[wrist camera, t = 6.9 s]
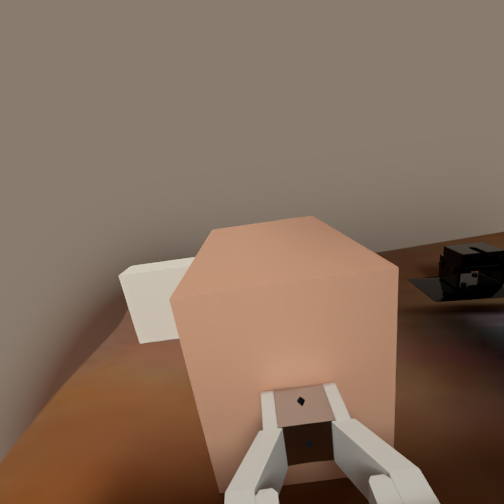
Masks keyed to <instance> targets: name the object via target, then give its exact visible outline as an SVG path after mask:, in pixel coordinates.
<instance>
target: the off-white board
mask: <svg viewBox="0 0 504 504" xmlns="http://www.w3.org/2000/svg"><path fill="white" fill-rule="evenodd" d="M194 258H195V257H192V258H184V259H177V260H170V261H163V262H156V263H149V264H142V265H135V266H130V267H129V268H128V269H126V270H125V271H124V272H123V273H121V274H120V275H119V279H120V282H121V285H122V288H123V291H124V295H125V298H126V301H127V304H128V308H129V311H130V314H131V317H132V321H133V324H134V327H135V330H136V333H137V337H138V340H139V343H140V344H141V343H149V342H156V341H164V340H171V339H179V335H178V331H177V328H176V324H175V320H174V316H173V312H172V308H171V304H170V300H169V299H170V297H171V295H172V294H173V292H174V290H175V289H176V287H177V286H178V284H179V282H180V281H181V279H182V278H183V276H184V274H185V273H186V271H187V270H188V268H189V266H190V265H191V263H192V262H193V260H194Z"/></svg>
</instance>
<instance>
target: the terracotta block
mask: <svg viewBox="0 0 504 504" xmlns="http://www.w3.org/2000/svg"><path fill="white" fill-rule="evenodd" d="M398 271H399V267H397V266H396V265H394V264H392V263H391V262H389V261H387V260H386V259H384V258H382V257H381V256H379V255H377V254H376V253H374V252H372V251H371V250H369V249H367V248H366V247H364V246H362V245H360V244H359V243H357V242H355V241H354V240H352V239H350V238H349V237H347V236H345V235H344V234H342V233H340V232H339V231H337V230H335V229H334V228H332V227H330V226H329V225H327V224H325V223H324V222H322V221H320V220H318V219H317V218H315V217H313V216H305V217H299V218H291V219H284V220H277V221H270V222H263V223H256V224H249V225H243V226H236V227H228V228H221V229H214V230H212V231H211V233H210V234H209V236H208V238H207V239H206V241H205V242H204V244H203V246H202V247H201V249H200V250H199V252H198V254H197V255H196V257H195V258H194V260H193V262H192V263H191V265H190V266H189V268H188V270H187V271H186V273H185V274H184V276H183V278H182V279H181V281H180V282H179V284H178V286H177V287H176V289H175V290H174V292H173V294H172V295H171V297H170V299H169V300H170V304H171V308H172V312H173V316H174V320H175V324H176V328H177V331H178V335H179V339H180V343H181V347H182V351H183V355H184V358H185V362H186V366H187V370H188V374H189V378H190V382H191V385H192V389H193V393H194V397H195V401H196V405H197V409H198V412H199V416H200V420H201V424H202V428H203V432H204V436H205V439H206V443H207V447H208V451H209V455H210V459H211V463H212V467H213V470H214V474H215V478H216V482H217V486H218V490H219V494H220V493H225V492H226V490H227V488H228V486H229V485H230V483H231V481H232V479H233V477H234V475H235V474H236V472H237V470H238V468H239V466H240V465H241V463H242V461H243V459H244V457H245V455H246V454H247V452H248V450H249V448H250V446H251V445H252V443H253V441H254V439H255V437H256V436H257V434H258V432H259V431H262V430H263V425H262V410H261V392H265V391H273V390H282V389H291V388H298V387H305V386H312V385H319V384H321V385H322V384H326V383H333V382H334V383H335V384H336V385H337V388H338V390H339V392H340V394H341V397H342V399H343V401H344V404H345V406H346V408H347V410H348V413H349V415H350V417H351V419H354V418H355V419H357V420H358V421H359V422H360V423H362V424H363V425H364V426H366V427H367V428H368V429H369V430H371V431H372V432H373V433H374V434H376V435H377V436H378V437H380V438H381V439H382V440H383V441H385V442H386V443H387V444H389V445H390V446H391V447H392V448H394V422H395V384H396V347H397V309H398ZM273 393H274V391H273ZM340 478H348V477H347V475H346V474H345V473H344V472H343V471H342V470H341V468H340V467H339V466H338V465H337V464H336V463H335V461H334V460H330V461H320V462H310V463H304V464H297V465H291V466H288V470H287V473H286V476H285V479H284V482H283V485H282V486H284V485H292V484H300V483H308V482H316V481H324V480H332V479H340Z"/></svg>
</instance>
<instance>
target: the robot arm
mask: <svg viewBox="0 0 504 504" xmlns="http://www.w3.org/2000/svg"><path fill="white" fill-rule="evenodd" d="M273 391H274V393H273ZM273 391H265V392H261V410H262V425H263V430H262V431H259V432H258V434H257V436H256V437H255V439H254V441H253V443H252V445H251V446H250V448H249V450H248V452H247V454H246V455H245V457H244V459H243V461H242V463H241V465H240V466H239V468H238V470H237V472H236V474H235V475H234V477H233V479H232V481H231V483H230V485H229V486H228V488H227V490H226V492H225V501H224V504H279V498H278V497H279V494H280V491H281V488H282V485H283V482H284V479H285V476H286V473H287V470H288V466H291V465H297V464H304V463H310V462H320V461H330V460H334V461H335V463H336V464H337V465H338V466H339V467H340V468H341V470H342V471H343V472H344V473H345V474H346V475H347V477H348V478H349V479H350V480H351V481H352V482H353V484H354V485H355V486H356V487H357V488H358V489H359V491H360V492H361V493H362V494H363V495H364V496H365V498H366V499H367V500H368V501H369V504H440V502H439V501H438V499H437V497H436V496H435V494H434V492H433V491H432V489H431V487H430V486H429V484H428V482H427V481H426V479H425V477H424V476H423V474H422V472H421V471H420V469H419V468H418V467H417V466H415V465H414V464H413V463H412V462H410V461H409V460H408V459H406V458H405V457H404V456H403V455H401V454H400V453H399V452H397V451H396V450H395V449H394V448H392V447H391V446H390V445H389V444H387V443H386V442H385V441H383V440H382V439H381V438H380V437H378V436H377V435H376V434H374V433H373V432H372V431H371V430H369V429H368V428H367V427H366V426H364V425H363V424H362V423H360V422H359V421H358V420H357V419H355V418H354V419H351V417H350V415H349V413H348V410H347V408H346V406H345V404H344V401H343V399H342V397H341V394H340V392H339V390H338V388H337V385H336V384H335V383H334V382H333V383H326V384H322V385H321V384H319V385H312V386H305V387H298V388H291V389H282V390H273Z"/></svg>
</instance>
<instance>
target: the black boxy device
mask: <svg viewBox="0 0 504 504" xmlns="http://www.w3.org/2000/svg"><path fill="white" fill-rule="evenodd" d="M471 271H478V273H477V272H472V273H471ZM408 280H409V281H410V282H411V283H412V284H414V285H415V286H416V287H417V288H419V289H420V290H421V291H422V292H424V293H425V294H426V295H427V296H429V297H430V298H431V299H432V300H433V301H435V302H442V301H457V300H471V299H486V298H501V297H504V250H503V249H500V248H497V247H494V246H491V245H488V244H485V243H483V242H480V243H470V244H460V245H450V246H444V253H443V255H440V262H439V276H434V277H423V278H411V279H408Z"/></svg>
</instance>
